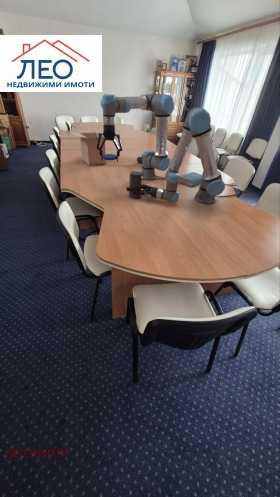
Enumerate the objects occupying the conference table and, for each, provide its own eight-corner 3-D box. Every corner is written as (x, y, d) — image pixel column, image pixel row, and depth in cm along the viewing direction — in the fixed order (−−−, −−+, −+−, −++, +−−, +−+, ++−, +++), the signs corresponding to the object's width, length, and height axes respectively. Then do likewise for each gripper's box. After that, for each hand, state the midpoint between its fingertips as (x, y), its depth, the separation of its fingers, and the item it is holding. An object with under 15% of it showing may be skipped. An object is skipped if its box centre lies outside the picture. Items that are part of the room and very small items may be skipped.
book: (191, 177, 214) (192, 171, 211) (206, 182, 205) (207, 176, 202) (177, 181, 200) (178, 176, 197) (192, 187, 191) (193, 181, 188)
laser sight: (156, 166, 236) (157, 156, 230) (135, 163, 239) (136, 153, 233) (157, 163, 244) (158, 154, 238) (137, 161, 247) (138, 151, 241)
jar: (129, 198, 165) (129, 174, 155) (129, 193, 172) (129, 170, 162) (140, 198, 166) (142, 175, 155) (140, 194, 173) (141, 171, 163)
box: (116, 165, 229) (116, 136, 213) (83, 168, 214) (80, 137, 198) (102, 154, 259) (101, 128, 243) (71, 156, 244) (68, 129, 228)
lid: (110, 155, 156) (110, 153, 155) (120, 159, 151) (120, 156, 150) (99, 157, 151) (99, 155, 150) (108, 161, 145) (108, 158, 144)
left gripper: (90, 123, 135) (92, 161, 149) (126, 126, 136) (125, 163, 149) (92, 122, 141) (94, 158, 155) (127, 124, 142) (126, 160, 155)
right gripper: (151, 203, 154) (123, 196, 161) (161, 193, 170) (135, 187, 177) (152, 193, 150) (123, 186, 156) (163, 183, 166) (136, 177, 173)
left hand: (109, 160), depth 152 cm, fingers closed on lid, 10 cm apart
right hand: (129, 186), depth 167 cm, fingers closed on jar, 9 cm apart
